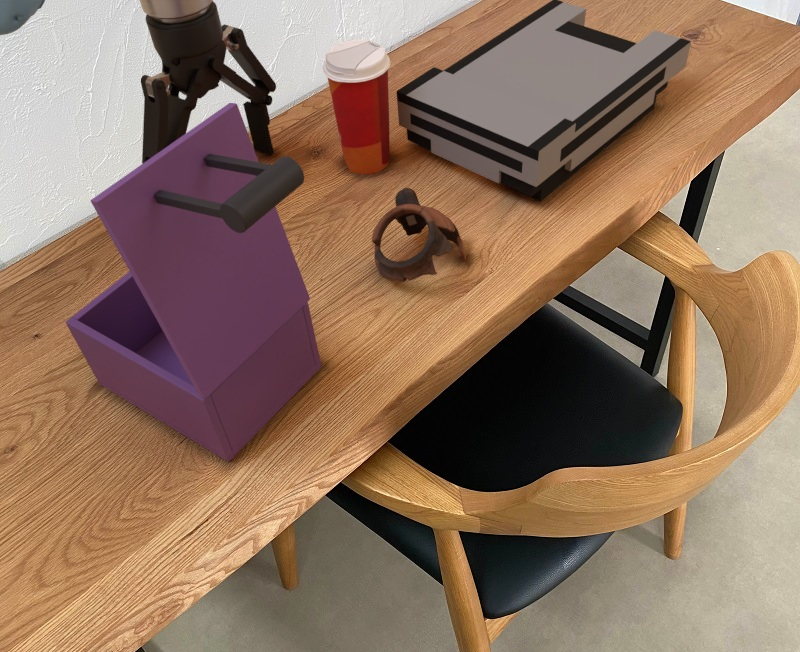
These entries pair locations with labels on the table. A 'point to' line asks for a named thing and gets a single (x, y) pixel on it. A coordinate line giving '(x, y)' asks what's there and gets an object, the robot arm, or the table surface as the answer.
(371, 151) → the paper cup
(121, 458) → the table surface
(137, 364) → the file box
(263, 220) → the purple box lid
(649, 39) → the game console
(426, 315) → the table surface
